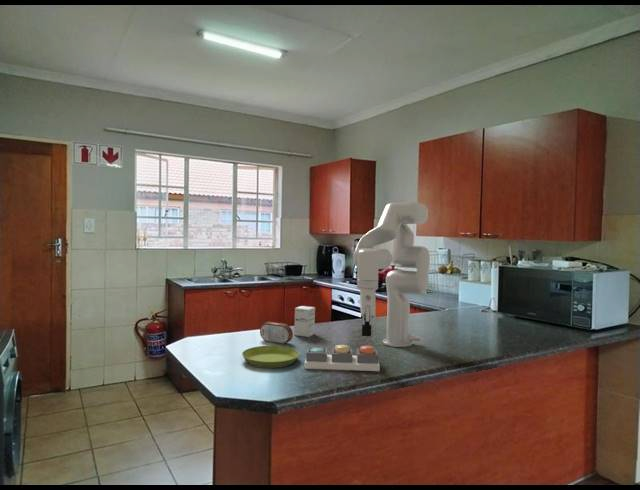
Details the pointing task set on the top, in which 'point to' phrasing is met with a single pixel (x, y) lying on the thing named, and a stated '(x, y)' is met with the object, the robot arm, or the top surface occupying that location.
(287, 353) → the saucer
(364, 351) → the brick button
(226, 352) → the top surface
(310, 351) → the teal button
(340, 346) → the ochre button
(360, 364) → the button panel
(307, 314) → the supplement box
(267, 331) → the tin
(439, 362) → the top surface
